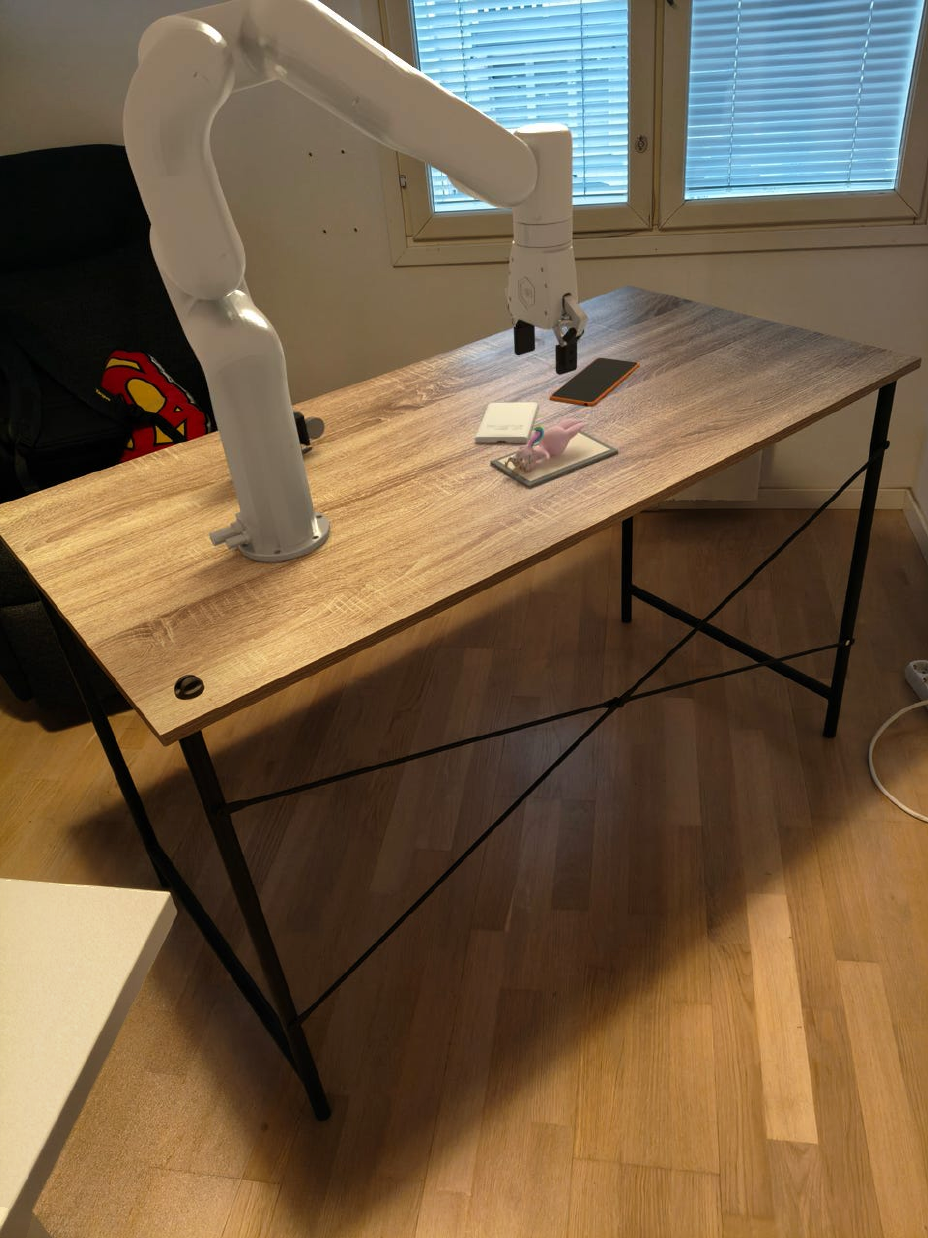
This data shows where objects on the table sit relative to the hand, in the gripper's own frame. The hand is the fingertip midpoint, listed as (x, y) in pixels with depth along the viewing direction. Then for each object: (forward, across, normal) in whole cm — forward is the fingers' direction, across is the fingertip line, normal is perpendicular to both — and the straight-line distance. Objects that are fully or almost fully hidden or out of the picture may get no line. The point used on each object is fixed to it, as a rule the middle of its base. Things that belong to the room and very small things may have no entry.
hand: (545, 361), depth 132 cm
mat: (+15, 0, +1) cm, 15 cm away
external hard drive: (+16, -14, +3) cm, 21 cm away
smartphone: (+15, -18, +23) cm, 33 cm away
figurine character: (+16, -29, -31) cm, 45 cm away
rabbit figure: (+15, 0, 0) cm, 15 cm away
